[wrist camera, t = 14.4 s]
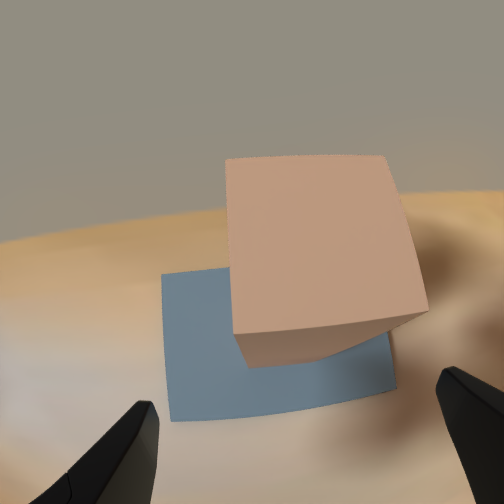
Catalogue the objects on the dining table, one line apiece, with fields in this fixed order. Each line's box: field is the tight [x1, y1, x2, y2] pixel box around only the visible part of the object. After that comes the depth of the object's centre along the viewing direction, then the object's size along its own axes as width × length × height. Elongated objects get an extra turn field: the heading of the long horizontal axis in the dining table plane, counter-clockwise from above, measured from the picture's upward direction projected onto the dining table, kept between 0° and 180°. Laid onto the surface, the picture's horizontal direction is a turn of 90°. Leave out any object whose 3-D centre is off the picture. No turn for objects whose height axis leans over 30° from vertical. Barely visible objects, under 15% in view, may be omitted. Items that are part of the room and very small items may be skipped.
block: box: [225, 155, 429, 368], centre depth 12 cm, size 4×4×12 cm
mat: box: [161, 267, 397, 422], centre depth 17 cm, size 13×9×1 cm
